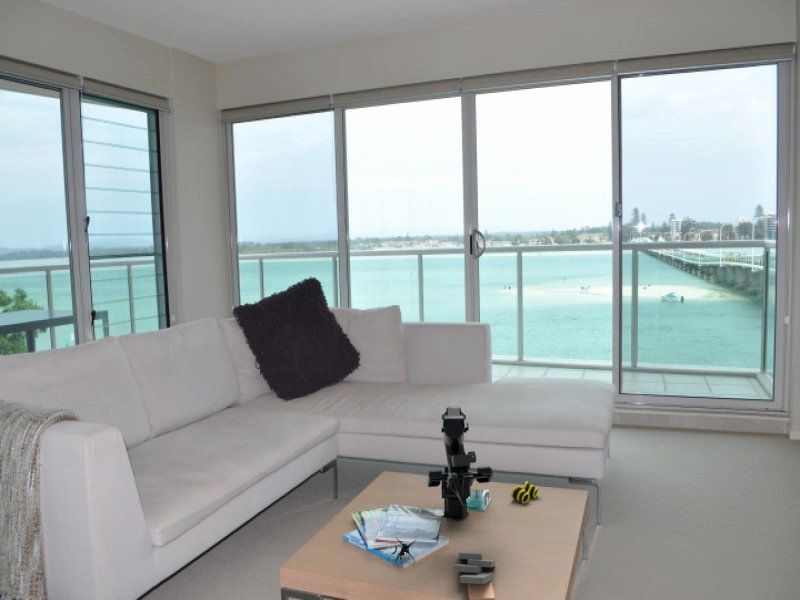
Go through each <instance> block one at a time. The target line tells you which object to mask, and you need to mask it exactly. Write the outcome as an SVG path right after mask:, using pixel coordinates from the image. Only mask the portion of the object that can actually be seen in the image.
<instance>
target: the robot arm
mask: <svg viewBox="0 0 800 600" xmlns="http://www.w3.org/2000/svg"><path fill="white" fill-rule="evenodd" d="M445 408H446V411H444V413H443V414H442V415H441V425H440V426H441V429H440V430H441V433H443V438H444V441H443V444H444V449H445V455H446V462H447V466H445V468H444V471H443V470H442V469H434V470H432V469H431V470H429V471H428V472H427V478H426V484H427V487H429V488H436V487H437V488H438V487H439V486H440V485H441V499H443V503H444V508H443V509H444V512H443V513H444V516H443V517H444V518H448V519H451V520H453V521H454V520H455V521H460V520H461V519H463V518H465V517H467V516H468V515H470V512H469V511H468V502H467V500H468V499H469V498H470V497H471V487H472V486H473V483H474V481H475V480H476V482H477V483H478V484H488V483H490V482H491V480H492V478H493V476H494V471H493V468H492V467H491V466H490V465H488V466H486V465H485V466H478V467H477V469H476V471H469V470H471V465H472V464H475V463H477V456H476V451H474V450H473V451H468V452H467V453H466V450H465V444H464V441H465V434H466V433H467V432H468V431H469V430H470V429H469V428H470V427H469V423H468V421H467V416H466V413H464V412H463V411H462V407H461V406H446V407H445Z"/></svg>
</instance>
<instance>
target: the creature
mask: <svg viewBox="0 0 800 600" xmlns="http://www.w3.org/2000/svg"><path fill="white" fill-rule="evenodd" d="M395 538H396V540H397V541H398V542H399V543H400V546H399V547H400V551H399V552H398V553H397V551H398V547H397V546H394V548H395V550H394V551H393V552H392V553H391V554H392V555H394V554H396V553H397V555H396V559H395V564H397V562H398V565H400V561H401V560H402V557H404V556H405V555H404V554H405V553H404V552H406V554H407V555H408V554H409V556H408V557H410V558H412V559H413V563H412V564H411V565H412V566H413V564H415V562H416V559H415V557H414V556H412V555H411V554H410V547H411V546H412V545H413V543H415V542H416V541H417V539H415V540H414V541H412V542H411V543H409V544H406V543H403V542H402V541H400V540H399V539H398V538H397V537H395ZM398 556H399V557H398ZM386 560H387V561H389V558H388V559H386Z"/></svg>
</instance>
